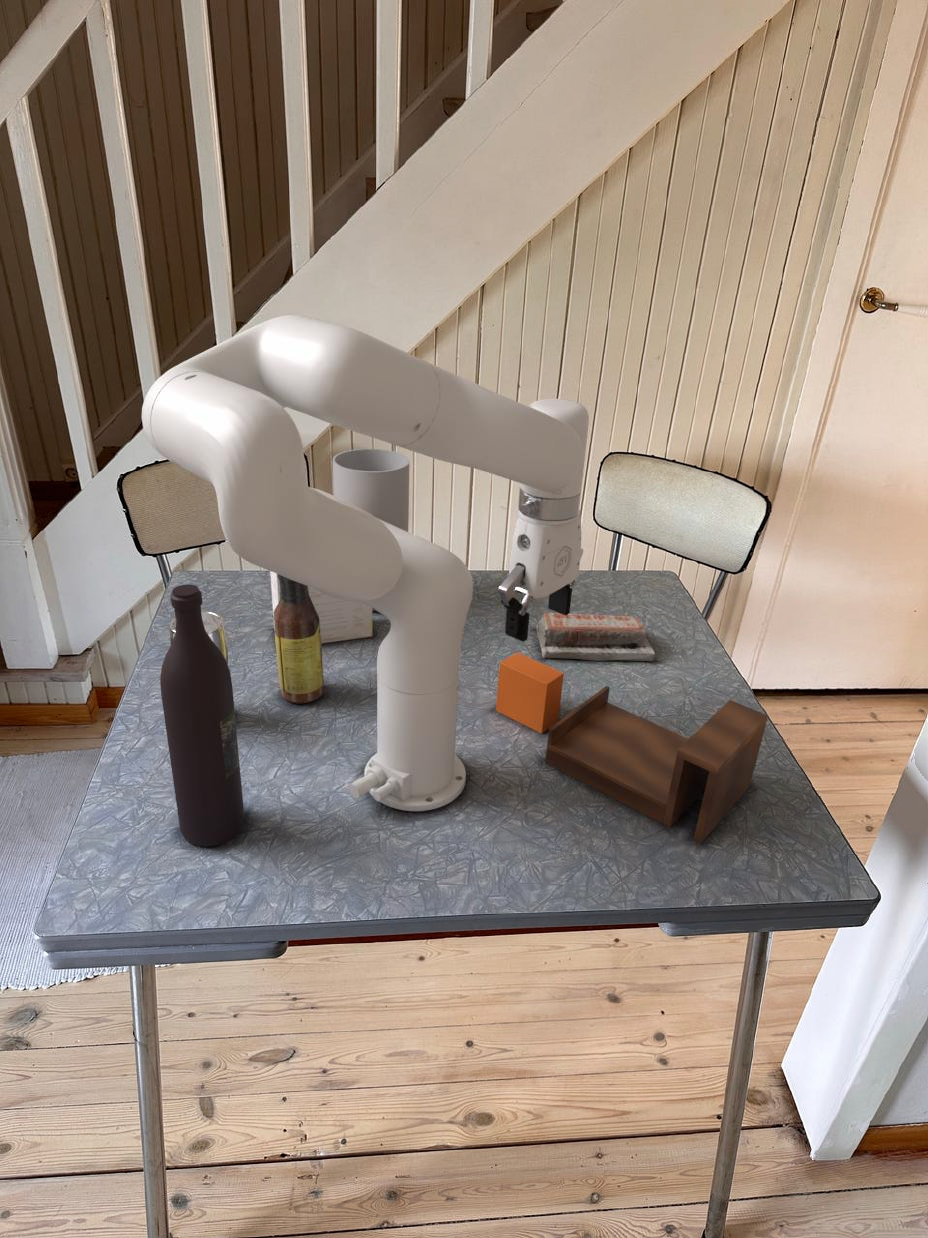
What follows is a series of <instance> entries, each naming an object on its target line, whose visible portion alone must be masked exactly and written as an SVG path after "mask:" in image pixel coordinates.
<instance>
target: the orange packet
mask: <svg viewBox="0 0 928 1238" xmlns="http://www.w3.org/2000/svg"><path fill="white" fill-rule="evenodd" d="M564 677H565V673H564V672H562V671H560V670H557V669H555V668H553V667H551V666H549V665H547V664H545V663H542V662H540V661H537V660H535V659H533V658H531V657H528V656H526V655H524V654H521V653H519V652H515V653H513V654H511V655H510V656H509V657H506V658H505V659H504V660H502V661H500V662H499V669H498V681H497V691H496V693H497V694H496V704H495V711H496V712H498V713H499V714H502V715H503V716H506V717H507V718H509V719H511V720H514V721H515V722H517V723H519V724H522V725H524V726H525V727H528V728H529V729H532V730H533V731H536V732H538V733H539V734H543V733H545V732H546V731H548V730H549V728H550V727H552V726H553V725H554V724H556V723H557V722H558V721H559V716H560V709H561V701H562V691H563V684H564Z"/></svg>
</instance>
